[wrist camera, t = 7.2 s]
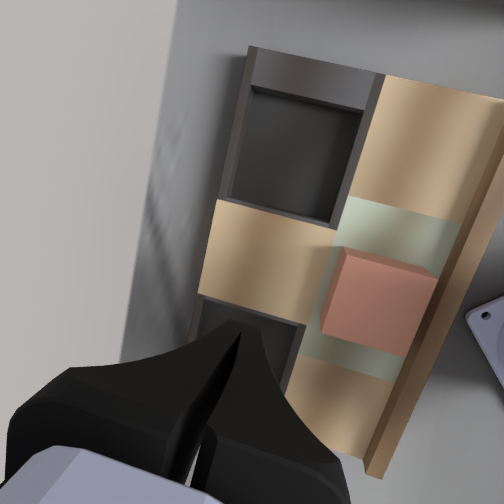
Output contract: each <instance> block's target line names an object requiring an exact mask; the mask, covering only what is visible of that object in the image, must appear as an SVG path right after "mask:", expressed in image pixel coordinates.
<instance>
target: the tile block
mask: <svg viewBox="0 0 504 504" xmlns="http://www.w3.org/2000/svg"><path fill="white" fill-rule="evenodd" d="M437 281H438V279H437V278H436V277H435V276H434V275H432V274H431V273H430V272H429V271H428V270H426V269H425V268H423V267H419V266H416V265H412V264H408V263H405V262H401V261H397V260H393V259H390V258H386V257H382V256H378V255H375V254H371V253H367V252H363V251H360V250H356V249H352V248H349V247H345V246H343V247H342V250H341V253H340V257H339V260H338V263H337V266H336V269H335V272H334V275H333V278H332V281H331V284H330V287H329V290H328V293H327V296H326V299H325V302H324V306H323V309H322V312H321V315H320V326H321V333H323V334H327V335H330V336H334V337H337V338H340V339H344V340H347V341H350V342H354V343H357V344H361V345H364V346H367V347H371V348H374V349H377V350H381V351H384V352H388V353H391V354H394V355H398V356H401V357H406V355H407V352H408V350H409V348H410V345H411V343H412V340H413V338H414V336H415V333H416V331H417V329H418V326H419V324H420V321H421V319H422V317H423V314H424V312H425V310H426V307H427V305H428V302H429V300H430V298H431V295H432V293H433V291H434V288H435V286H436V283H437Z"/></svg>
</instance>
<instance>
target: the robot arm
mask: <svg viewBox="0 0 504 504" xmlns="http://www.w3.org/2000/svg"><path fill="white" fill-rule="evenodd" d="M484 312H488V314H487V316H485V317H481V315H482V313H484ZM465 319H466V322H467V324H468V326H469V327H470V329H471V331H472V333H473V335H474V336H475V338H476V340H477V342H478V344H479V345H480V347H481V349H482V351H483V353H484V354H485V356H486V358H487V360H488V362H489V363H490V365H491V367H492V369H493V371H494V372H495V374H496V376H497V378H498V380H499V381H500V383H501V385H502V387H503V389H504V296H502V297H500V298H497V299H495V300H493V301H491V302H488V303H486V304H484V305H481V306H479V307H477V308H475V309H472V310H470V311H469V312H467V314H466V316H465ZM200 444H201V446H200ZM199 447H200V449H199ZM198 449H199V453H198V457H197V461H196V465H195V469H194V473H193V476H192V480H191V484H190V487H188V486H185V482H186V479H187V477H188V474H189V471H190V469H191V466H192V463H193V461H194V458H195V456H196V454H197V451H198ZM0 504H351V501H350V496H349V491H348V488H347V484H346V480H345V476H344V472H343V469H342V465H341V462H340V459H339V458H338V457H337V456H336V455H334V454H333V453H332V452H331V451H330V450H329V449H328V448H327V447H326V446H325V445H324V444H323V443H322V442H321V441H320V440H319V439H318V438H317V437H316V436H315V435H314V434H313V433H312V432H311V431H310V429H309V428H308V427H307V426H306V425H305V424H304V423H303V421H302V420H301V419H300V418H299V416H298V415H297V414H296V412H295V411H294V409H293V408H292V407H291V405H290V404H289V402H288V401H287V399H286V398H285V396H284V394H283V392H282V390H281V388H280V386H279V384H278V382H277V380H276V378H275V375H274V373H273V370H272V368H271V365H270V362H269V359H268V356H267V352H266V348H265V343H264V336H263V331H262V329H260V328H257V327H254V326H251V325H247V324H244V323H241V322H238V321H235V320H231V319H229V320H227V321H225V322H224V323H222V324H221V325H220V326H218V327H217V328H215V329H213V330H212V331H210V332H209V333H207V334H205V335H204V336H202V337H200V338H198V339H197V340H195V341H193V342H191V343H189V344H187V345H185V346H183V347H180V348H178V349H175V350H173V351H170V352H167V353H164V354H161V355H157V356H153V357H150V358H146V359H142V360H138V361H133V362H127V363H121V364H114V365H105V366H90V367H70V368H69V369H67V370H65V371H64V372H63V373H61V374H60V375H58V376H57V377H56V378H54V379H53V380H52V381H51V382H49V383H48V384H47V385H46V386H44V387H43V388H42V389H41V390H40V391H38V392H37V393H36V394H35V395H34V396H32V397H31V398H30V399H29V400H28V401H26V402H25V403H24V404H23V405H21V407H19V408H18V409H17V410H16V411H15V413H14V415H13V416H12V418H11V419H10V423H9V427H8V432H7V445H6V464H5V480H4V481H3V482H2V483H1V484H0Z"/></svg>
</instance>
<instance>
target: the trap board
mask: <svg viewBox="0 0 504 504" xmlns="http://www.w3.org/2000/svg"><path fill="white" fill-rule="evenodd" d="M503 210H504V100H502V99H497V98H492V97H488V96H483V95H478V94H474V93H469V92H464V91H460V90H455V89H450V88H446V87H441V86H436V85H432V84H427V83H422V82H418V81H413V80H408V79H404V78H399V77H394V76H389V75H385V74H380V73H375V72H371V71H366V70H361V69H357V68H352V67H347V66H343V65H338V64H333V63H329V62H324V61H319V60H315V59H310V58H305V57H301V56H296V55H291V54H287V53H282V52H277V51H273V50H268V49H263V48H259V47H254V46H249V48H248V53H247V58H246V62H245V67H244V72H243V77H242V82H241V86H240V91H239V96H238V101H237V106H236V110H235V115H234V120H233V125H232V130H231V134H230V139H229V144H228V149H227V154H226V159H225V163H224V168H223V173H222V178H221V183H220V187H219V192H218V197H217V202H216V207H215V211H214V216H213V221H212V226H211V231H210V235H209V240H208V245H207V250H206V255H205V259H204V264H203V269H202V274H201V279H200V283H199V288H198V293H197V298H196V303H195V308H194V312H193V317H192V322H191V327H190V332H189V336H188V341H187V344H189V343H191V342H193V341H195V340H197V339H198V338H200V337H202V336H204V335H205V334H207V333H209V332H210V331H212V330H213V329H215V328H217V327H218V326H220V325H221V324H222V323H224V322H225V321H227V320H229V319H231V320H235V321H238V322H241V323H244V324H247V325H251V326H254V327H257V328H260V329H262V331H263V336H264V343H265V348H266V352H267V356H268V359H269V362H270V365H271V368H272V370H273V373H274V375H275V378H276V380H277V382H278V384H279V386H280V388H281V390H282V392H283V394H284V396H285V398H286V399H287V401H288V402H289V404H290V405H291V407H292V408H293V409H294V411H295V412H296V414H297V415H298V416H299V418H300V419H301V420H302V421H303V423H304V424H305V425H306V426H307V427H308V428H309V429H310V431H311V432H312V433H313V434H314V435H315V436H316V437H317V438H318V439H319V440H320V441H321V442H322V443H323V444H324V445H325V446H326V447H327V448H330V449H333V450H336V451H339V452H342V453H345V454H348V455H351V456H354V457H357V458H360V459H363V463H364V468H365V474H366V475H369V476H372V477H375V478H378V479H381V480H382V478H383V476H384V474H385V471H386V469H387V467H388V465H389V462H390V460H391V458H392V456H393V454H394V451H395V449H396V447H397V445H398V443H399V440H400V438H401V436H402V434H403V431H404V429H405V427H406V425H407V423H408V420H409V418H410V416H411V414H412V412H413V409H414V407H415V405H416V403H417V400H418V398H419V396H420V394H421V392H422V389H423V387H424V385H425V383H426V381H427V378H428V376H429V374H430V372H431V369H432V367H433V365H434V363H435V361H436V358H437V356H438V354H439V352H440V350H441V347H442V345H443V343H444V341H445V338H446V336H447V334H448V332H449V330H450V327H451V325H452V323H453V321H454V319H455V316H456V314H457V312H458V310H459V307H460V305H461V303H462V301H463V299H464V296H465V294H466V292H467V290H468V288H469V285H470V283H471V281H472V279H473V276H474V274H475V272H476V270H477V268H478V265H479V263H480V261H481V259H482V257H483V254H484V252H485V250H486V248H487V245H488V243H489V241H490V239H491V237H492V234H493V232H494V230H495V228H496V226H497V223H498V221H499V219H500V217H501V214H502V212H503ZM343 246H345V247H349V248H352V249H356V250H360V251H363V252H367V253H371V254H375V255H378V256H382V257H386V258H390V259H393V260H397V261H401V262H405V263H408V264H412V265H416V266H419V267H423V268H425V269H426V270H428V271H429V272H430V273H431V274H432V275H434V276H435V277H436V278H437V279H438V281H437V283H436V286H435V288H434V291H433V293H432V295H431V298H430V300H429V302H428V305H427V307H426V310H425V312H424V314H423V317H422V319H421V321H420V324H419V326H418V329H417V331H416V333H415V336H414V338H413V340H412V343H411V345H410V348H409V350H408V352H407V355H406V357H401V356H398V355H394V354H391V353H388V352H384V351H381V350H377V349H374V348H371V347H367V346H364V345H361V344H357V343H354V342H350V341H347V340H344V339H340V338H337V337H334V336H330V335H327V334H323V333H321V326H320V315H321V312H322V309H323V306H324V302H325V299H326V296H327V293H328V290H329V287H330V284H331V281H332V278H333V275H334V272H335V269H336V266H337V263H338V260H339V257H340V253H341V250H342V247H343Z"/></svg>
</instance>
